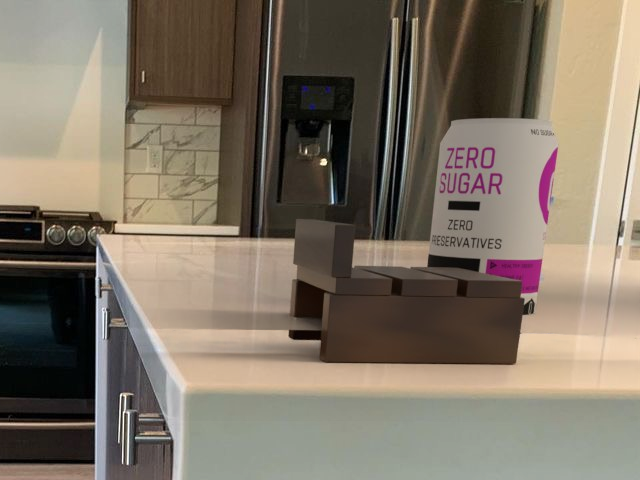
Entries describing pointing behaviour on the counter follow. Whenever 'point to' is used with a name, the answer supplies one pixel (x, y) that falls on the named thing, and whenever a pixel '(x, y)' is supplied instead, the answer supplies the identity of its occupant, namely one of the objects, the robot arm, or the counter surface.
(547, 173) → the supplement can
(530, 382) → the counter surface
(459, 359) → the rack
